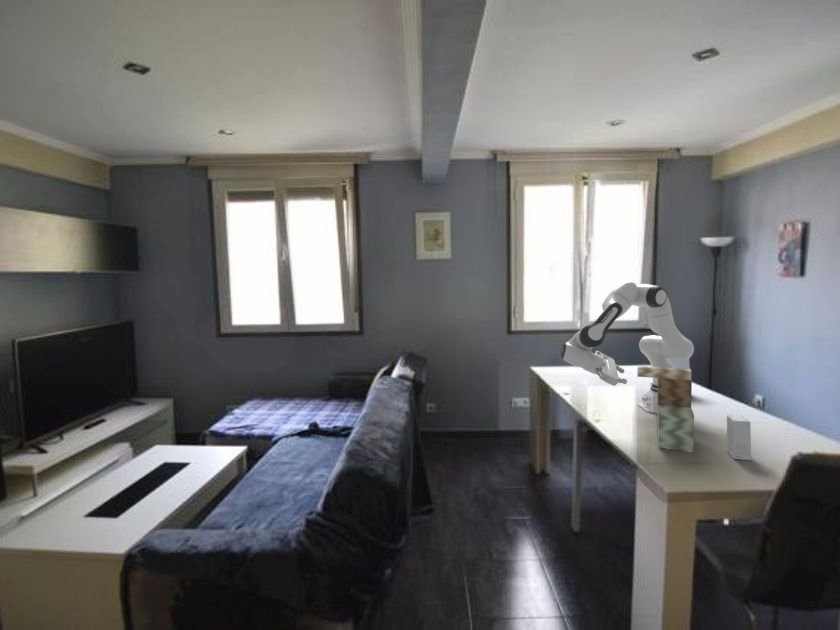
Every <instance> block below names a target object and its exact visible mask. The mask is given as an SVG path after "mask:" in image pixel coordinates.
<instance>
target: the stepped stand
mask: <svg viewBox="0 0 840 630" xmlns="http://www.w3.org/2000/svg"><path fill="white" fill-rule="evenodd" d="M692 387H693V385H692V379H691V380H680V379H665V378H658V392H657V415H656V436H657V445H658V446H657V447H658V448H659V447H660V448H659V449H662V448H667V449H666V450H669V449H675V450H674V451H677V450H682V451H681V452H685V451H689V452H688V453H692V452H693V453H694V446H695V445H694V441H695V440H694V439H695V438H694V437H695V436H694V435H695V431H694V429H695V413H694V411H693V409H692V389H693V388H692Z"/></svg>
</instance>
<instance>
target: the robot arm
mask: <svg viewBox="0 0 840 630" xmlns="http://www.w3.org/2000/svg"><path fill="white" fill-rule="evenodd" d="M669 299H670V298H669V297H668V294H667V291H666V290H665V288H664V286H663V287H662V286H660V285H657V284H649V283H635V282H634V281H628V280H626V281H625V280H624V281H622V282H621V283H620V284H618V285H617V286H616V287H615V288H614V289H613V290H612V291H611V292H610V293H609V294H608V295H607V296H606V298H605V299H604V301H603V303H602V305H601V308H602V310H603V311H602V313H601V314H600V315H598V317H597V318H596V320H595V321H594V322H592V323H590V324H587V325H585V326H583V328H581V329H580V330H579V331H577V332H576V333H575V334H573V336H572V338H570V339H569V340H568V341H567V342H564V343H563V345H562V347H561V351H560V357H561V359H562V360H563V361H564V362H566V363H568V364H570V365H572V366H575V367H577V368H580V369H582V370H584V371H586V372H588V373H590V374H593V375H597V376H598V378H599V379H600V380H601V381H602V382H605V383H607V384H608V385H611V386H613V387H615V386H617V385H618V384H623V385H626V384H627V383H628V379H626V378H621V376H619V375H618V373H619V374H624V373H625V369H624V368H622V367H620V366H619V365H618V364H616V361H615V359H614V358H613V357H610V356H609V355H607V354H605V353H602V352H601V351H599V350H596V351H595V353H594V352H593V351H592V350H593V348H596V347H599V346H601V345H602V344H603V342H604V341H605V338H606V334H607V331H608V330H609V328H611V326H612V325H613V323H614V322H615V321H616V320H617V319H618V318H620V317H622V316H623V315H625V313H626V312H627V311H628V310H629V309H630V308H631V307H633V306H635V307H640V308H643V307H644V308H645V310H646V317H647V322H648V326H649V329H650V331H652V332H654V333H655V335H651V334H650V335H644V336H642V338H640V341H638V342H639V343H638V347H639V351H640V352H641V353H642V354H643V355H644V356H645V357H646V359H647V360H648V361H649V363H650V367H664V368H675V367H674V366H672V365H670V364H669V362H668V361H667V358H671V359H688V358H689V359H690V358H691V357H692V356H693V354H694V352H695V346H694V344H693V342H692V340H691V339H688V338H687V337H686V336H685V335H684V334H682V333H681V332H680V331H679V329H678V327H677V326H676V324H675V320H674V317H673V316H674V315H673V309H672V306H671V301H670V300H669ZM656 334H657V335H656ZM649 384H650V389H648V391H646V392H645V393H644V394H643V395H642V398H641V400H642V401H639V402H637V403H636V404H637V406H639V407H640V408H641V409H642V410H643V411H645V412H646V413H651V414H657V392H658V378H652V382H651V383H649Z"/></svg>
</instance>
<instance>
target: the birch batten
mask: <svg viewBox="0 0 840 630" xmlns="http://www.w3.org/2000/svg"><path fill="white" fill-rule="evenodd" d="M636 376H637V378H651V379H653V378H665V379H680V380H691V381H692V369H691V368H690V369H682V368H664V367H652V366H643V365H637V375H636Z"/></svg>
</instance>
